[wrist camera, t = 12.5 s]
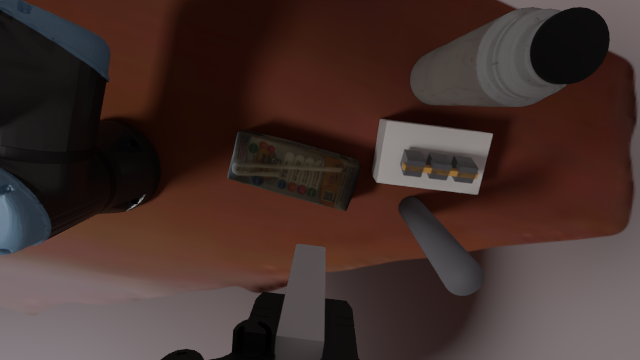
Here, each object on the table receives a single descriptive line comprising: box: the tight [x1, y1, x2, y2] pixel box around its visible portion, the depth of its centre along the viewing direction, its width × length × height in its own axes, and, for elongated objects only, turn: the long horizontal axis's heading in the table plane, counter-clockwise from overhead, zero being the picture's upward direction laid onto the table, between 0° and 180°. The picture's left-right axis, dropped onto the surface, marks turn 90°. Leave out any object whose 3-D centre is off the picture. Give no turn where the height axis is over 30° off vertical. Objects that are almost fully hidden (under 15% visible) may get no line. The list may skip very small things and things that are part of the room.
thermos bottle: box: [410, 7, 610, 107], centre depth 35 cm, size 8×8×28 cm
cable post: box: [399, 196, 484, 296], centre depth 43 cm, size 4×4×22 cm
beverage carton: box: [228, 129, 361, 211], centre depth 49 cm, size 8×19×7 cm, turn 74°
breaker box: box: [371, 119, 493, 195], centre depth 48 cm, size 15×9×6 cm, turn 83°
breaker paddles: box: [400, 149, 479, 184], centre depth 43 cm, size 10×2×3 cm, turn 83°
